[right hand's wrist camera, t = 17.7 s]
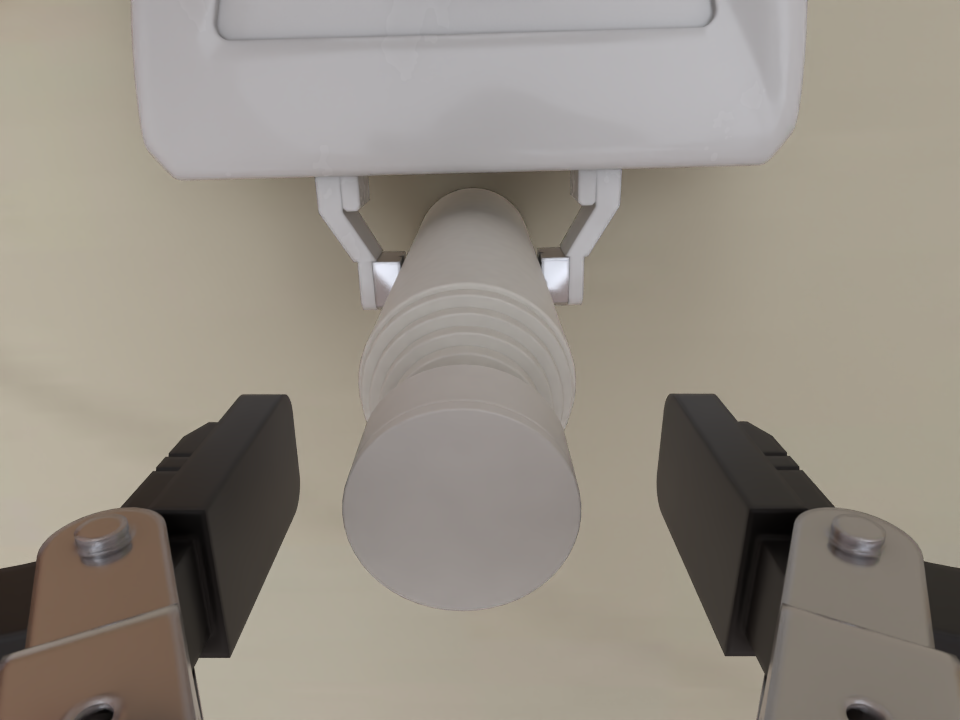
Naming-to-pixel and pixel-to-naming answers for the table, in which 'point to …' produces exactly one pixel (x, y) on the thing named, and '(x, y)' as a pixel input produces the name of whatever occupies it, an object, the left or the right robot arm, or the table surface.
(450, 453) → the cap
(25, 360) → the table surface
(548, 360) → the bottle
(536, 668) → the table surface
